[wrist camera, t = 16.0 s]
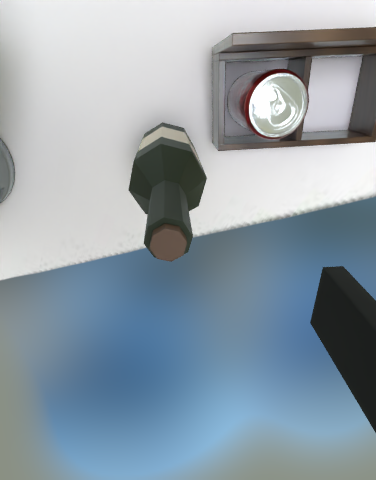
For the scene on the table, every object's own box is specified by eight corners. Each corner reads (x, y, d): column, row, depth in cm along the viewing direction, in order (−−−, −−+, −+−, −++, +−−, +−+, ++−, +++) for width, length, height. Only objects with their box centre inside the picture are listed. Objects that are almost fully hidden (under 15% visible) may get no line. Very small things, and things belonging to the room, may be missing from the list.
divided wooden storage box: (212, 142, 46) (229, 165, 34) (212, 47, 40) (232, 33, 28) (352, 135, 47) (418, 154, 35) (371, 40, 41) (459, 23, 29)
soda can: (283, 109, 45) (319, 119, 34) (239, 135, 46) (261, 152, 35) (264, 60, 41) (298, 53, 31) (217, 89, 43) (234, 93, 32)
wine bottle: (173, 187, 49) (181, 312, 23) (129, 156, 46) (80, 258, 20) (205, 145, 46) (256, 232, 20) (160, 110, 43) (151, 156, 17)
